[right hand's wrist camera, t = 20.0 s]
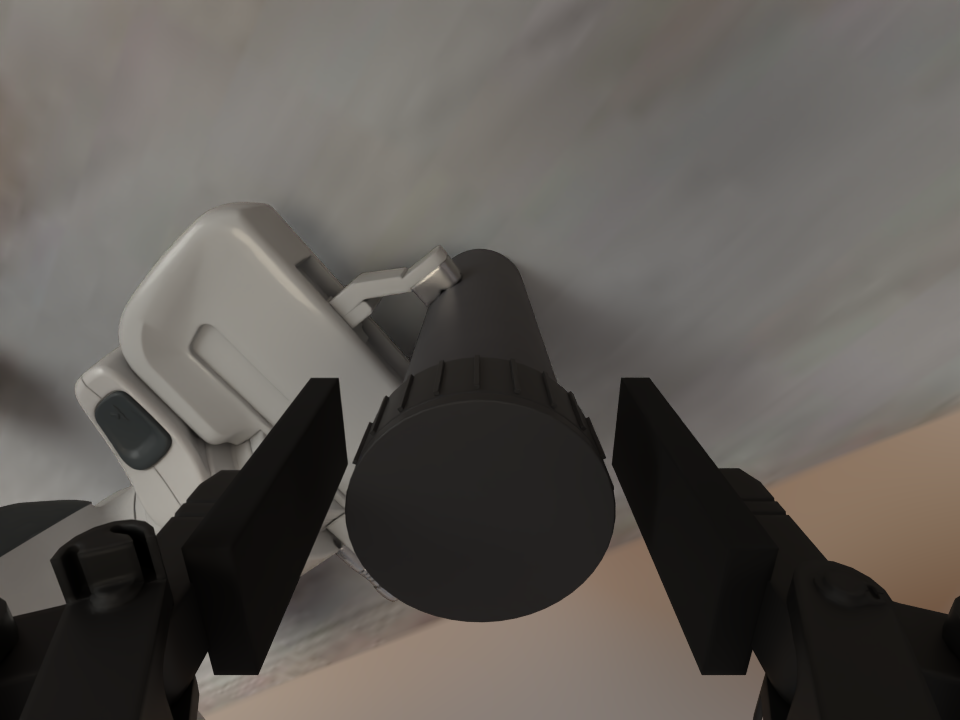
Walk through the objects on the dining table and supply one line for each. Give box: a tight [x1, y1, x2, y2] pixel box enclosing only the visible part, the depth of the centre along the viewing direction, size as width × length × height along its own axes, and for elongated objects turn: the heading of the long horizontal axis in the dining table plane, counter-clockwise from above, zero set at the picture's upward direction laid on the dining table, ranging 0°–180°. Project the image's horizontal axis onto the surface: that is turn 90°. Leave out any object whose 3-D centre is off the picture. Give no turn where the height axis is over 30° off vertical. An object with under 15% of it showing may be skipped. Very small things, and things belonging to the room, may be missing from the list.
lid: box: [345, 355, 615, 622], centre depth 12 cm, size 6×6×2 cm
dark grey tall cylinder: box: [403, 249, 557, 383], centre depth 20 cm, size 5×5×18 cm
